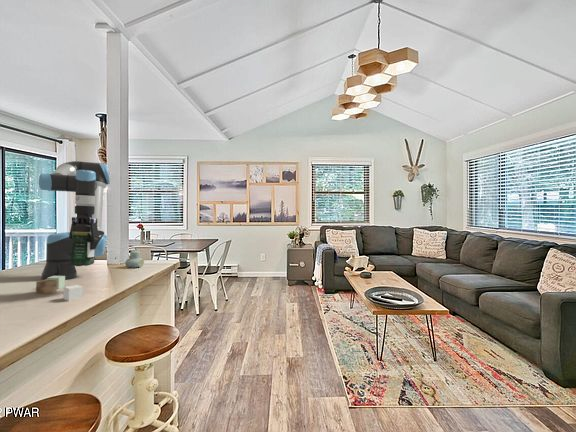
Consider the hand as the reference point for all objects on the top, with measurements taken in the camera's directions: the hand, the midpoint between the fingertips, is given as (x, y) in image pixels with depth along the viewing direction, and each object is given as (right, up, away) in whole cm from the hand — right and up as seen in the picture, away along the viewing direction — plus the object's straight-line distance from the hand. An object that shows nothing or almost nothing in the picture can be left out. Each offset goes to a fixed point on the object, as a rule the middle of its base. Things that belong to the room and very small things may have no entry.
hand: (83, 255), depth 147 cm
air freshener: (-6, -15, +62) cm, 65 cm away
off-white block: (+4, -16, -13) cm, 21 cm away
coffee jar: (0, -4, 0) cm, 4 cm away
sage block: (-15, -15, +4) cm, 22 cm away
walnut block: (-13, -15, -4) cm, 21 cm away
